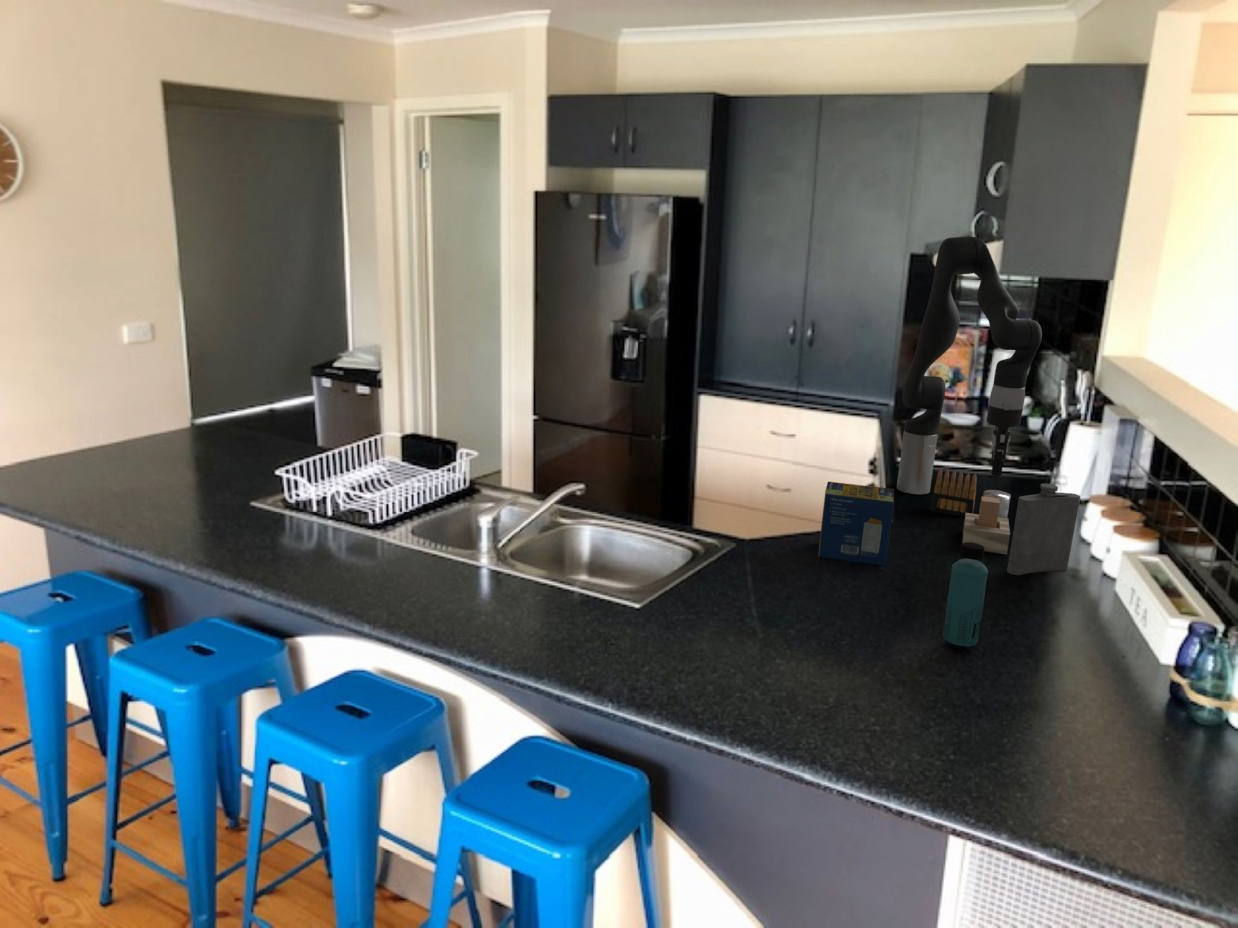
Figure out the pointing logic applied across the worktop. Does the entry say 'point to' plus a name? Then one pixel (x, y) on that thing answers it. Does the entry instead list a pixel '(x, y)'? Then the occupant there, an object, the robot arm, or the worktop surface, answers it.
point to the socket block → (987, 534)
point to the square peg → (988, 512)
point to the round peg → (1003, 499)
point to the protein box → (856, 523)
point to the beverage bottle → (966, 597)
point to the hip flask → (1043, 531)
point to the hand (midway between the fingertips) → (995, 470)
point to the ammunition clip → (957, 498)
